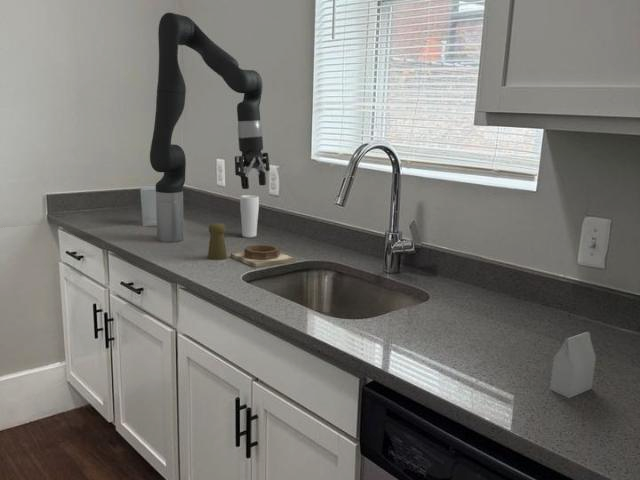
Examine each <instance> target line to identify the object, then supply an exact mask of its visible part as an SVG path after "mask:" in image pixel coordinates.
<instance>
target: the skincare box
mask: <svg viewBox="0 0 640 480" xmlns="http://www.w3.org/2000/svg"><path fill="white" fill-rule="evenodd" d="M139 191H140V204H141V218H142V221H141V222H142V226H143V227H155V226H156V227H157V220H156V186H154V187H153V186H151V187H149V186H148V187H141V188H140V190H139Z"/></svg>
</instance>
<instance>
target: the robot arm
mask: <svg viewBox="0 0 640 480" xmlns="http://www.w3.org/2000/svg"><path fill="white" fill-rule="evenodd" d="M157 29H158V33H157V34H158V38H157V39H158V74H157V85H156V86H157V88H156V100H155V101H156V102H155V114H154V115H155V118H154V126H153V132H152V140H151V145H150V152H149V163H150V165H151V168H152V169H153V170H154V171H155V172H157V173H163V176H162V177H161V178H160V180H158V181H157V182H156V183H155V187H156V220H157V226H156V240H157V241H158V242H162V243H163V242H165V243H175V242H181V241H183V240H184V237H185V235H184V229H185V228H184V227H185V224H184V185H185V183H186V171H187V170H186V166H187V165H186V163H187V162H186V154H185V151H184V149H183V148H182V147H181V146H180V145H178V144H172V136H173V132H174V130H175V127H176V126H177V123H178V121H179V120H180V119H181V115H182V114H183V111H184V109H185V104H186V91H187V90H186V87H187V86H186V83H185V82H186V81H185V80H184V76H183V74H182V71H181V68H180V64H179V60H178V53H179V52H178V51H179V46H186V47H187V48H190V49H192V50H193V51H195V52H197V53H198V54H199V56H200V57H201V59H202V60H203V62H204V63H205V64H206V66H207V67H208V68H209V69H211V70H212V71H213V72H215V73H216V74H217V75H219V76H220V77H221V78H222V79H223V81H224V83H226V85H227V86H228V88H229V89H231V90H232V91H234V92H236V93H238V94H243V99H242V101H241V102H240V101H239V103H237V106H236V112H237V113H236V114H237V115H236V116H237V137H238V150H239V151H240V152H241V155H236V156H234V172H235V174H234V175H235V176H238V177H240V183H241V189H242V190H248V189H250V184H249V173H250V172H251V170H252V169H256V171H257V173H258V175H257V176H258V184H259V186H265V185H267V178H266V174H267V172H269V171H270V162H269V161H270V160H269V153H268V152H262V151H264V141H263V139H264V138H263V129H262V123H261V112H260V111H261V110H260V105H261V100H262V95H263V94H262V93H263V80H262V77H261V75H260V73H259V72H258V71H257V70H254V69H242V68H240V66H239V65H240V64H239V63H238V60H237V59H236V58H235V57H234V56H233V55H230V54H229V53H228V52H227V51H226V50H224V49H222V48H221V47H220V46H219V45H217V44H216V43H215V42H214V41H212V39H210V38H209V36H208V35H206V34H205V32H204V31H203V30H202V29H201V28H200V27H199V26H198V25H197V24H196V22H194V20H192V19H191V18H190V17H189V16H186V15H183V14H182V15H181V14H178V13H174V12H166V13H164V14H163V15H162V16H161V18H160V19H159V24H158V28H157Z"/></svg>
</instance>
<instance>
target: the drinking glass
mask: <svg viewBox="0 0 640 480" xmlns="http://www.w3.org/2000/svg"><path fill="white" fill-rule="evenodd" d="M239 203H240V205H239V209H240V219H241V234H242V237H243V238H253V239H254V238H256V237H257V235H258V234H257V233H258V232H257V231H258V220H259V209H260V197H259V196H258V195H252V194H246V195H244V194H243V195H241V196H240V202H239Z"/></svg>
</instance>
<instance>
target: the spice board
mask: <svg viewBox="0 0 640 480" xmlns="http://www.w3.org/2000/svg"><path fill="white" fill-rule="evenodd" d="M230 257H231V258H232V259H234V260H237V261H240V262H241V263H244V264H246V265H248V266H251V267H253V268H255V269H256V268H263V267H270V266H276V265H282V264H288V263H294V262H295V257H292V256H290V255H287V254H285V253H282V252H281V248H280V247H278V246H276V245H272V244H254V245H252V244H251V245H248V246H246V247H245V248H244V251H239V252H231V253H230Z"/></svg>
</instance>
